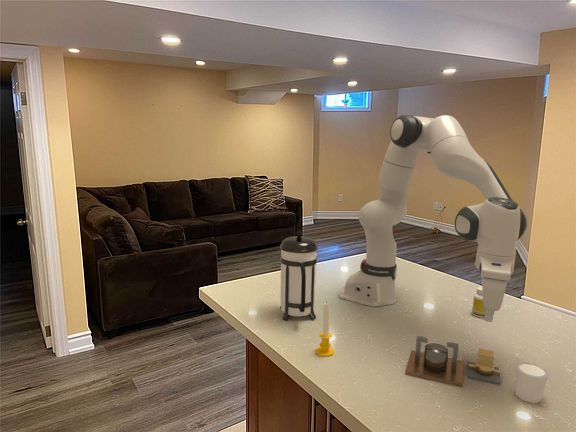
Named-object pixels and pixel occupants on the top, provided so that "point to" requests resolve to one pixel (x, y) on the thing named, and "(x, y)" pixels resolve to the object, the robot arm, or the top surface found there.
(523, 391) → the white cylinder
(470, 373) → the mat
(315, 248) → the coffee press
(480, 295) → the supplement bottle
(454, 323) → the top surface
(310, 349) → the top surface
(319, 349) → the candle
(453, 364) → the drum on wooden base
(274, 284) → the top surface
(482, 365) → the cap
